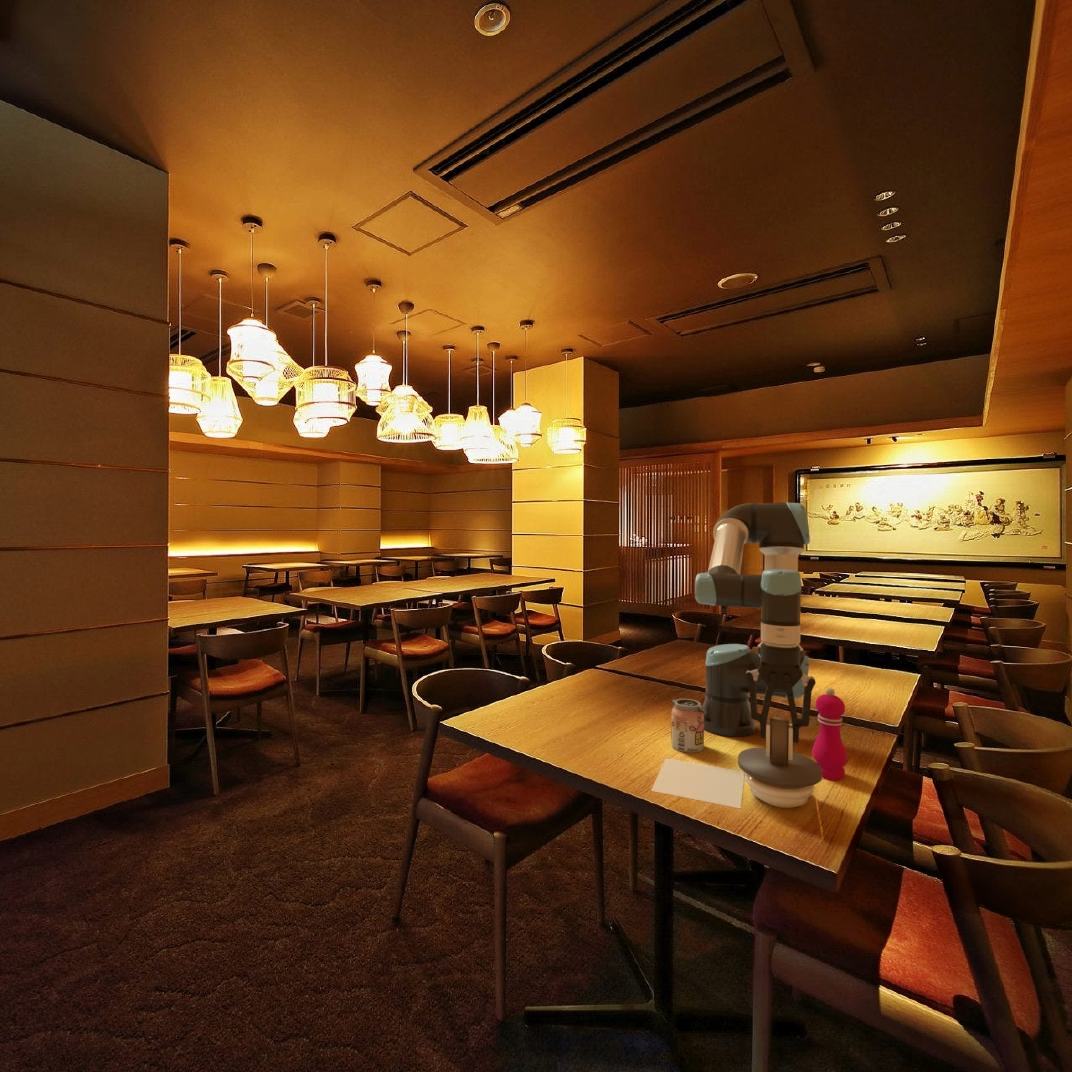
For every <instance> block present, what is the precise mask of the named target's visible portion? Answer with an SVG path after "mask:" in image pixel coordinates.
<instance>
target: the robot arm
mask: <svg viewBox="0 0 1072 1072" xmlns="http://www.w3.org/2000/svg"><path fill="white" fill-rule="evenodd" d="M712 530H713V531H712V537H713V540H714V542H713V546H712V547H713V548H712V552H711V556H710V559H709V560H710V561H709V564H708V568H707V572H706V571H705V572H700V573H697V574H696V576H695V581H694V598H695V601H696V602H697V603H698V604H700V605H706V606H707V605H708V606H711V607H715V606H718V607H719V606H720V607H737V608H738V607H740V608H754V609H755V608H756V609H760V612H761V618H760V640H761V642H760V643H759V644H757V651H751V648H750V647H749V646H748V645H746V644H740V643H728V644H727V643H726V644H719V645H714V646H712V647H710V648H708V649H707V651H706V656H705V657H706V659H705V662H704V665H705V699H704V701H703V705H702V706H703V708H704V709H705V710H706V711H707V713H706V715H704V731H707V732H710V733H712V734H716V735H720V736H728V737H744V736H745V737H746V736H750V735H752V734H754V733H755V732H756V721H757V722H759V724H760V725H759V726H760V727H759V736H760V738H761V739H763V740H765V747H766V756H768V757H770V720H768V717H769V712H770V707H771V702H772V699H773V698H772V697H776V698H783V699H787V702H788V708H789V713H790V720H791V723H789V739H788V760H792V759H793V752H794V751H793V747H794V746H793V745H794V744H799V741H800V728H803V727H805V728H806V727H809V726H810V714H811V702H812V691H813V690H814V687H815V685H816V679H815V677H814V676H809V671H810V669H809V668H810V667H809V666H810V657H809V656H808V655H804V648H803V647H802V646H801V645H800V643H801V604H802V603H801V602H802V600H801V599H802V598H801V596H802V594H801V593H802V582H801V581H802V580H801V579H802V578H801V577H802V576H801V573H800V572H799V570H798V568H799V566H798V565H799V556H800V555H801V554H802V553H803V552H804V550H805V545H809V544H810V543H811V542H810V541H811V536H810V525H809V519H808V514H807V510H806V507H805V506H804V505H803V504H802V503H799V502H788V501H785V502H758V503H753V502H748V503H747V502H746V503H742V504H739V505H736V506H734V507H732V508H730V509H728V510H727V511H725V512H724V513H723V514H722V515H721V516H720V517H719V518H717V521H716V522H715V523H714V526H713V529H712ZM745 544H759V545H758V550H759V551H760V553H762V554H763V555H764V556H763V557H764V570H763V571H762V573H761V574H745V573H743V574H741V569H742V561H743V552H744V547H745V546H744V545H745ZM757 696H764V698H763V703H762V709H761V713H759V712H758V704H757V703H758V700H757V699H758V697H757ZM801 698H803V701H802V710H801V713H802V714H801V717H800V718H798V712H797V707H796V702H795V699H796V700H797V699H798V700H799V699H801Z"/></svg>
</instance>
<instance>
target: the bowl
mask: <svg viewBox="0 0 1072 1072" xmlns="http://www.w3.org/2000/svg"><path fill="white" fill-rule="evenodd" d="M744 781H745V782H746V783H747V785H748V786H749V789H750V792H751V793H752V795H753V796H754V797H756V798H758V799H759V800H761V801H763V802H764V803H767V804H768V805H770V806H774V807H778V808H784V809H785V808H787V809H788V808H789V809H790V808H795V807H801V806H804V805H806V804H807V803H808V802H809V797H810V796H812V795H813V794H814V791H815V789H814V787H815V785H812V786H805V787H790V786H782V785H776V784H772V783H768V782H765V781H762V780H759V779H756V778H754V777H752V776H750V775H748V774H747V773H744Z"/></svg>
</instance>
